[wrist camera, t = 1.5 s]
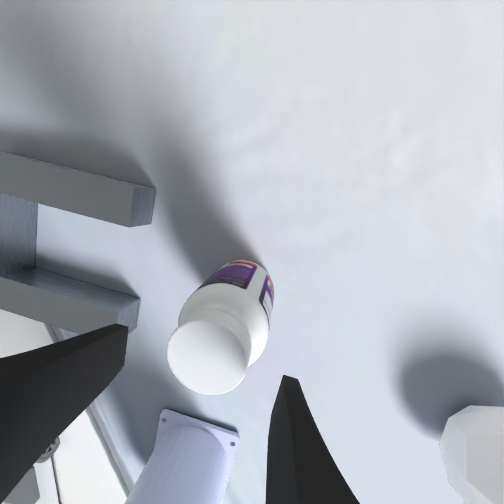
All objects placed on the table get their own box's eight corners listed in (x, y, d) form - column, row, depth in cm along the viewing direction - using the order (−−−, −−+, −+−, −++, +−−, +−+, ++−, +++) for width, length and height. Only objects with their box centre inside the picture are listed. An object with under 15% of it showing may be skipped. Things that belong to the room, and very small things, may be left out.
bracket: (136, 327, 23) (112, 346, 20) (7, 287, 25) (-34, 299, 22) (156, 188, 20) (132, 186, 17) (9, 152, 22) (-38, 144, 19)
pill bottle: (200, 292, 22) (132, 360, 12) (237, 245, 20) (192, 281, 11) (248, 331, 22) (217, 428, 12) (288, 286, 20) (287, 357, 11)
